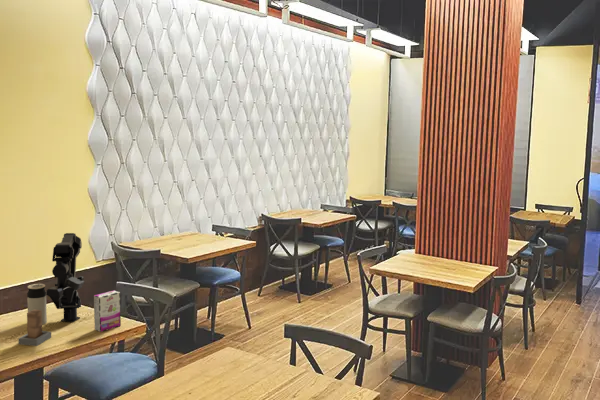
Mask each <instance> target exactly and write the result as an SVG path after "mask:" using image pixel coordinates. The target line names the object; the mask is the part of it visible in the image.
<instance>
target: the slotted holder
mask: <svg viewBox="0 0 600 400" xmlns="http://www.w3.org/2000/svg"><path fill="white" fill-rule="evenodd" d="M51 338H52V331H47V330H42V335H41V336H39V337H38V338H36V339H33V338H28V332H27V333H26V334H24V335H21V336H20V337H18V340H17V342H18V345H22V346H23V345H24V346H32V347H38V346H40V345H41V344H43V343H45V342H46V341H47V340H49V339H51Z"/></svg>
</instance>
